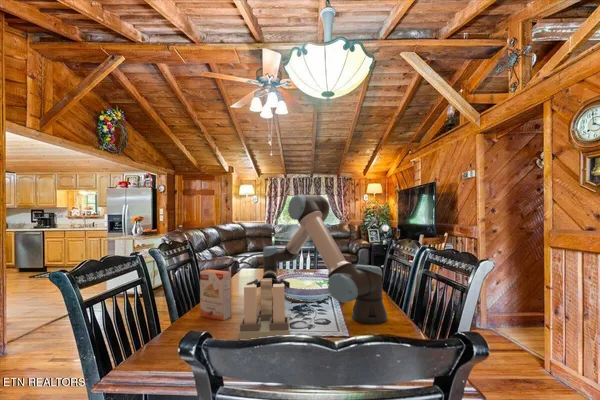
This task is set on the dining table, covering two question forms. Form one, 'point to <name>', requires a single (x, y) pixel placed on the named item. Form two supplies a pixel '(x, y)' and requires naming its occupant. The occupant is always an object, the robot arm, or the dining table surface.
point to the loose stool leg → (266, 296)
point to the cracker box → (215, 294)
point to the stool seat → (264, 315)
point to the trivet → (299, 300)
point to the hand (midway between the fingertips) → (267, 289)
